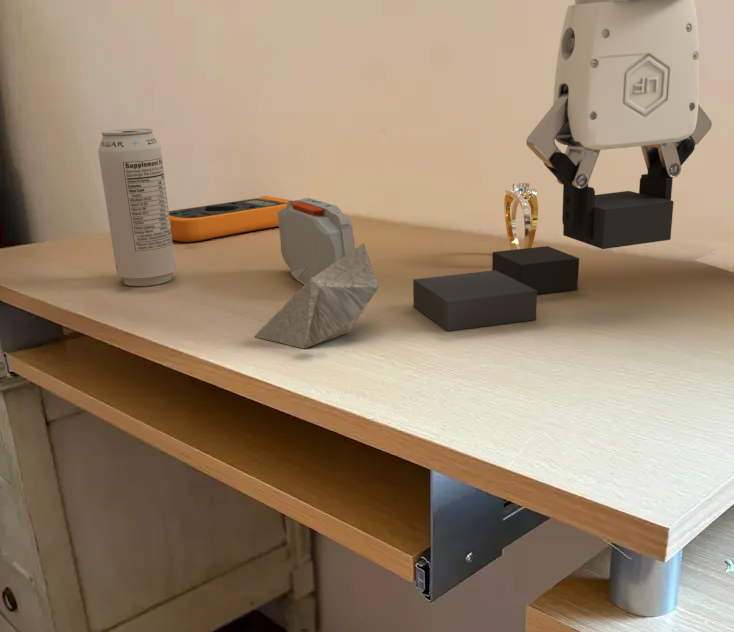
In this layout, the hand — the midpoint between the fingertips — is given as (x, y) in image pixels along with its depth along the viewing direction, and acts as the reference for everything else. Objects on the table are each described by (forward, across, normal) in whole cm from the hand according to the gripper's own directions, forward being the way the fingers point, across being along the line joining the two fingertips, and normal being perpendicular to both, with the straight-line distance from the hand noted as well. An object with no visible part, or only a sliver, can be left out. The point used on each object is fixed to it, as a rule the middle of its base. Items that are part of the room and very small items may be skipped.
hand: (615, 229), depth 66 cm
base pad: (+7, -10, +6) cm, 13 cm away
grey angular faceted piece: (+7, -23, +6) cm, 25 cm away
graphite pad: (+7, -1, +12) cm, 14 cm away
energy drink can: (+7, -36, +31) cm, 48 cm away
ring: (+8, +3, +23) cm, 24 cm away
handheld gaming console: (+7, -20, +22) cm, 30 cm away
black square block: (+1, 0, 0) cm, 1 cm away
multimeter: (+7, -24, +55) cm, 60 cm away
